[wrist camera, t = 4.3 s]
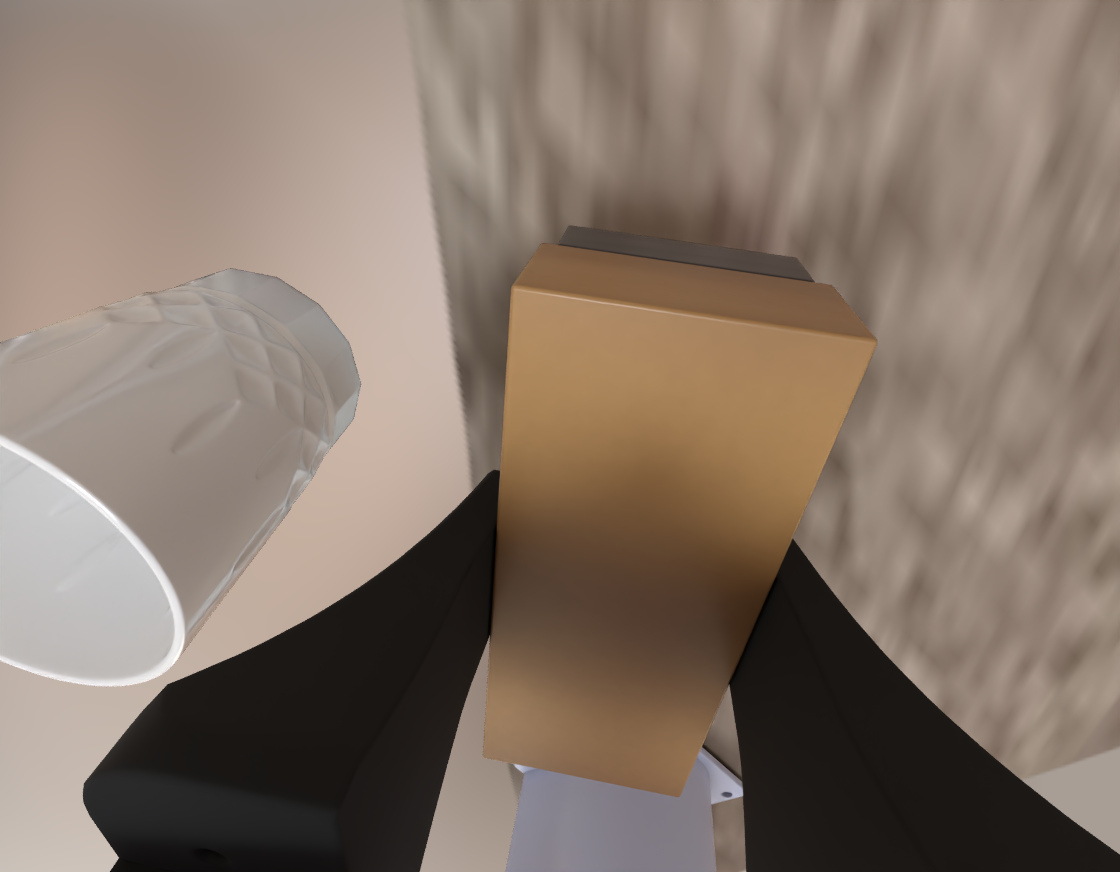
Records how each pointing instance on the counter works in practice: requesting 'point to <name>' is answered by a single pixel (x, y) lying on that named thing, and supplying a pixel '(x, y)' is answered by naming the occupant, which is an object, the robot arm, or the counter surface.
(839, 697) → the robot arm
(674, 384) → the scrub brush
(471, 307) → the counter surface
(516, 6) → the counter surface
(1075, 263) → the counter surface
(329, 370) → the white cup
